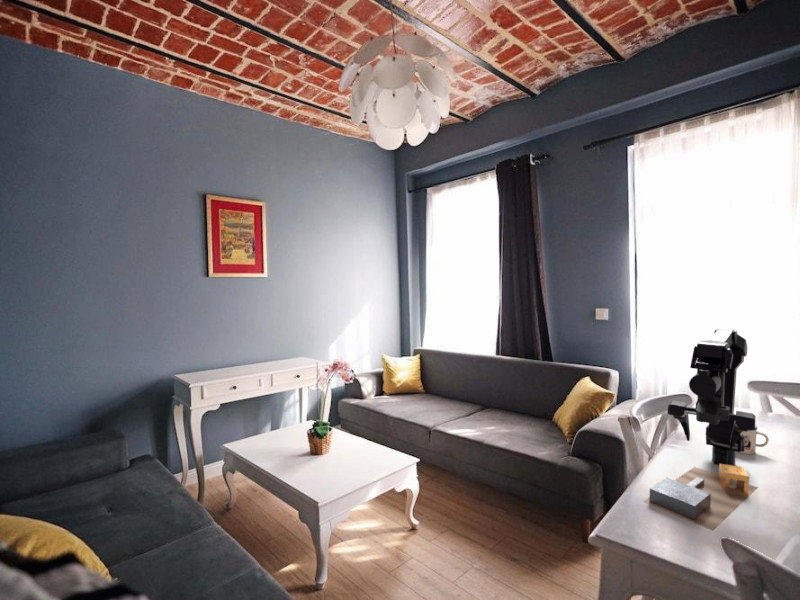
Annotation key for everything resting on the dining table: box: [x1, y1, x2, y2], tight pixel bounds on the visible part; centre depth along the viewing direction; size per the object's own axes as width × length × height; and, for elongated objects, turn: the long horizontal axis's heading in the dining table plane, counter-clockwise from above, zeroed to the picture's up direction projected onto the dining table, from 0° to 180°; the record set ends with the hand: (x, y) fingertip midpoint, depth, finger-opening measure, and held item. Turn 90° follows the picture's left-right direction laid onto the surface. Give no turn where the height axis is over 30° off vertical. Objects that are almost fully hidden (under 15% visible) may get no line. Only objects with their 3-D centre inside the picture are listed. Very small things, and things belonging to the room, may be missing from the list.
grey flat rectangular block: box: [649, 477, 711, 520], centre depth 108 cm, size 22×10×4 cm, turn 125°
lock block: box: [718, 463, 750, 494], centre depth 113 cm, size 6×5×5 cm
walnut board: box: [643, 466, 759, 531], centre depth 110 cm, size 33×15×1 cm, turn 125°
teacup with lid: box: [736, 424, 770, 455], centre depth 140 cm, size 12×9×12 cm
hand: (708, 444), depth 112 cm, fingers open, 9 cm apart
